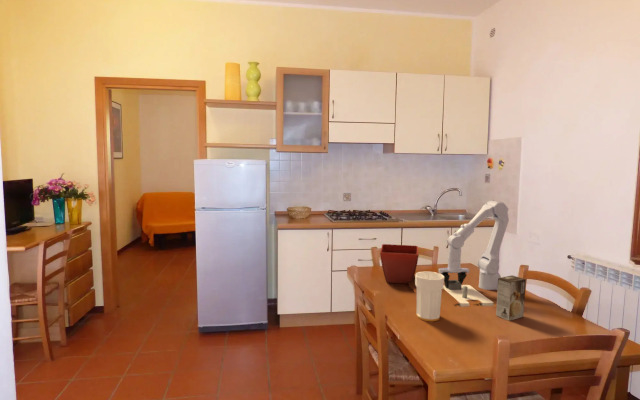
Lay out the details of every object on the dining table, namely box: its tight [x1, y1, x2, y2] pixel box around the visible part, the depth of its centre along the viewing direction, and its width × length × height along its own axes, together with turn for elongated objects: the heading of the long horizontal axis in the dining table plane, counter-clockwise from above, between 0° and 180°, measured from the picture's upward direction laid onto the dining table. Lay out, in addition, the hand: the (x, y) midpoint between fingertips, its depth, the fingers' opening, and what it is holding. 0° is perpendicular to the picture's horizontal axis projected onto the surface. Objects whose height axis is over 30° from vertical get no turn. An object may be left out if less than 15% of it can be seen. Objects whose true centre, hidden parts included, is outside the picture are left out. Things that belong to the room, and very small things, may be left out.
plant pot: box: [379, 243, 420, 285], centre depth 206 cm, size 19×19×17 cm
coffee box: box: [495, 275, 527, 322], centre depth 160 cm, size 9×6×16 cm
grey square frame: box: [448, 279, 463, 290], centre depth 190 cm, size 6×6×3 cm
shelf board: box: [442, 284, 495, 308], centre depth 182 cm, size 15×24×6 cm, turn 4°
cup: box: [414, 270, 445, 322], centre depth 158 cm, size 11×11×17 cm
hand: (453, 287), depth 190 cm, fingers closed on grey square frame, 6 cm apart
